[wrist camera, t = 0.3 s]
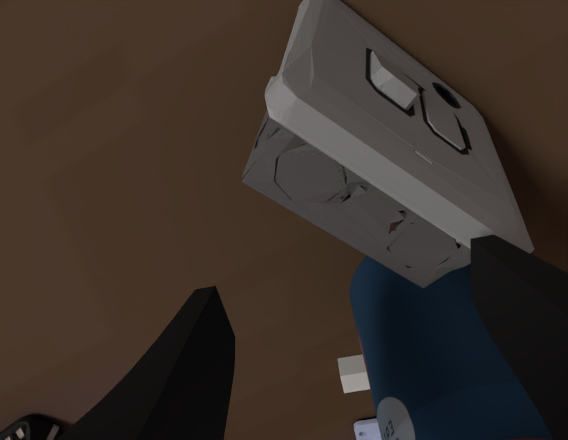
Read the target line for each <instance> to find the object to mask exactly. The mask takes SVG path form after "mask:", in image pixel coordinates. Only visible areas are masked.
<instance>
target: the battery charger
mask: <svg viewBox="0 0 568 440" xmlns="http://www.w3.org/2000/svg"><path fill="white" fill-rule="evenodd" d="M62 434H64V432H63V430H61V429H60V428H59V426H57V425H55V424H53V425H52V424H51V423H49V422H47V421H45V420H43V419H40V418H37V417H34V416H25V417H22V418H20V419H18V420H17V421H15V422H14V423H12V424H11V425H10V426H8V427H7V428H6V429H4V430H3V431H1V432H0V440H56V439H57V438H59V437H60V436H61V435H62Z"/></svg>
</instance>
